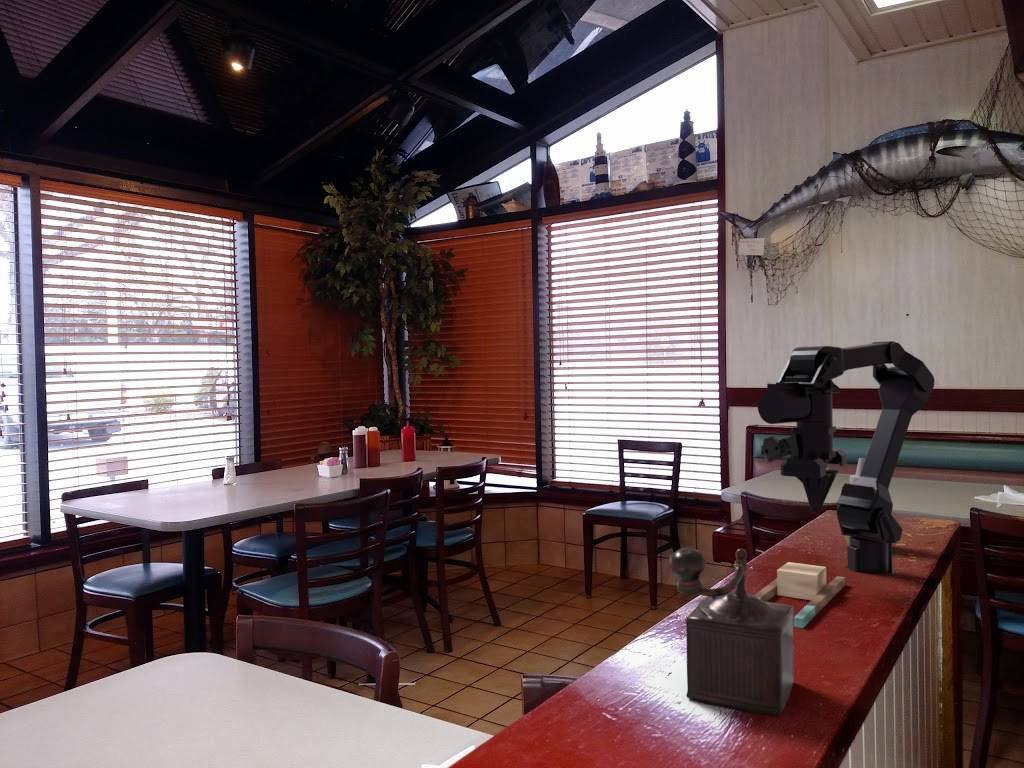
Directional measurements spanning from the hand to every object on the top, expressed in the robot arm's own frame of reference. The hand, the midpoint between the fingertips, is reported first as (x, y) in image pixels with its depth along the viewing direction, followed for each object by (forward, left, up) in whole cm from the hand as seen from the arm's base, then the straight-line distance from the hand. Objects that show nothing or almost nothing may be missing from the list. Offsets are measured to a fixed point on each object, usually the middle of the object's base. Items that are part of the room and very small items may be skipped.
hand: (815, 513), depth 130 cm
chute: (+9, +9, -12) cm, 18 cm away
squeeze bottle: (-23, -23, -12) cm, 35 cm away
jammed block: (+6, +6, -12) cm, 14 cm away
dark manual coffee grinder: (+32, +39, -13) cm, 52 cm away
